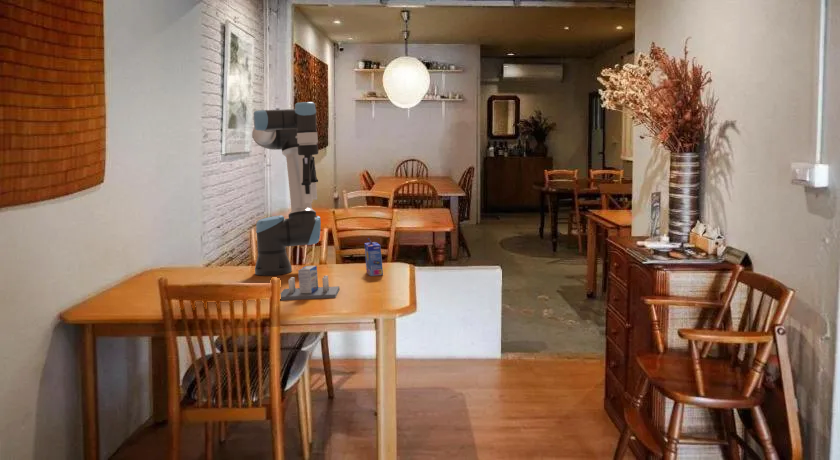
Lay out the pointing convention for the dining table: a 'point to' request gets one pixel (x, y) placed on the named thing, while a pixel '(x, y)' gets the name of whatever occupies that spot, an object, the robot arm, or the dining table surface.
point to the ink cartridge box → (373, 258)
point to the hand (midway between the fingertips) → (311, 201)
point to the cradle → (319, 293)
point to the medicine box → (308, 279)
